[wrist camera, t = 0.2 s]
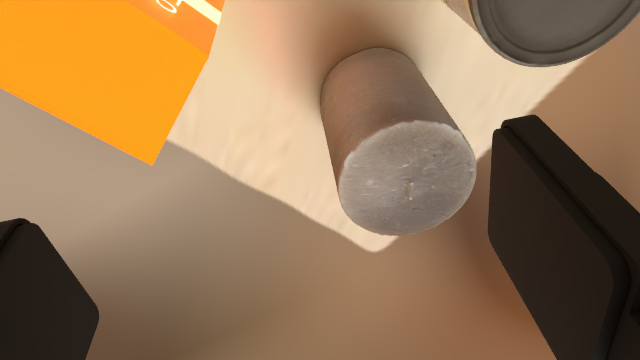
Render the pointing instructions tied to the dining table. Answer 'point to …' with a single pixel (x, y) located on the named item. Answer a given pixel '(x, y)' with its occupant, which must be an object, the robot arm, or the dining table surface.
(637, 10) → the coffee can
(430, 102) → the pillar candle
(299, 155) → the dining table surface
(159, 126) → the orange juice
